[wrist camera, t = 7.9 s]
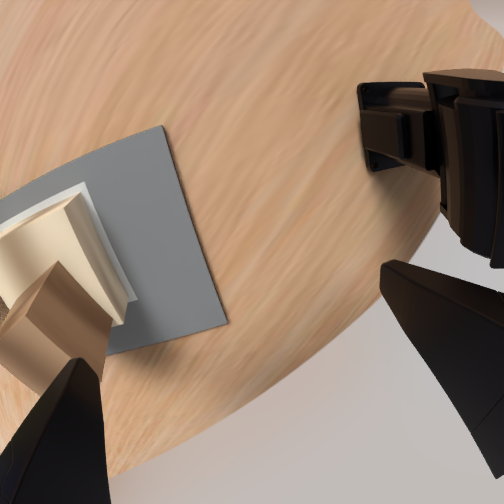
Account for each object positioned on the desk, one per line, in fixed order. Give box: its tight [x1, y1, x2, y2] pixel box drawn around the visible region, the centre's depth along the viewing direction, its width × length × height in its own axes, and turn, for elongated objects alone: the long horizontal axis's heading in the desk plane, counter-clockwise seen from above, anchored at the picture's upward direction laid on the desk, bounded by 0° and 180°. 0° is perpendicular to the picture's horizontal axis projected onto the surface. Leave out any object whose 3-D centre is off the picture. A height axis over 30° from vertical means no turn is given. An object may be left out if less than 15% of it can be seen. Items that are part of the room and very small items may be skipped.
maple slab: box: [0, 192, 129, 327], centre depth 15 cm, size 8×8×3 cm
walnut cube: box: [0, 260, 113, 396], centre depth 13 cm, size 5×5×5 cm
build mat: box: [0, 125, 227, 356], centre depth 18 cm, size 16×15×1 cm
